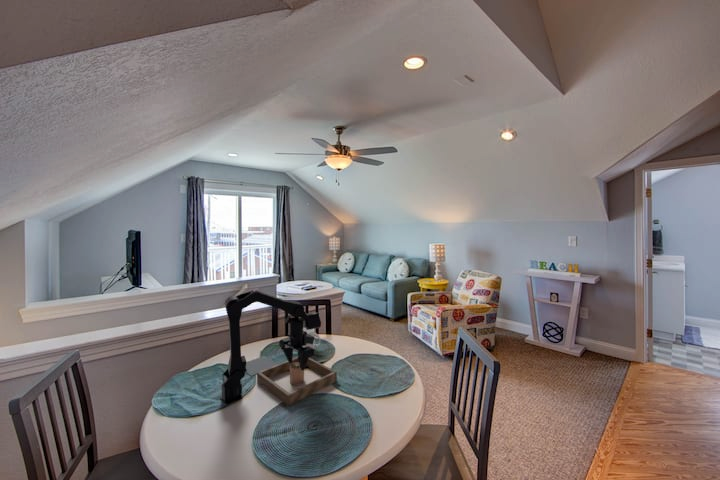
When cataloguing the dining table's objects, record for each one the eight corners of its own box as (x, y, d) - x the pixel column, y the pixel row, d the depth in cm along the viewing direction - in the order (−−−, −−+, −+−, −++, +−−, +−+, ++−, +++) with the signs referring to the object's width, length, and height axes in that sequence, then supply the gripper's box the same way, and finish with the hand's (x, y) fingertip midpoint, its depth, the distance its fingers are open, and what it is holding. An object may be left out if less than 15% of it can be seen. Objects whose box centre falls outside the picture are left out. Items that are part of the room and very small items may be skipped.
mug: (318, 353, 157) (318, 333, 156) (296, 352, 158) (296, 332, 157) (322, 347, 165) (322, 327, 165) (301, 345, 167) (301, 326, 166)
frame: (288, 405, 113) (288, 395, 112) (257, 381, 130) (256, 372, 129) (336, 381, 130) (336, 372, 130) (303, 362, 147) (303, 354, 147)
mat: (251, 376, 134) (251, 375, 134) (237, 365, 143) (237, 365, 143) (279, 365, 144) (279, 364, 144) (264, 356, 153) (264, 355, 153)
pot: (295, 386, 126) (294, 370, 125) (287, 381, 130) (287, 365, 129) (306, 381, 130) (306, 365, 130) (298, 376, 134) (298, 360, 134)
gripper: (324, 332, 128) (324, 367, 129) (299, 321, 141) (299, 354, 142) (303, 339, 120) (303, 377, 121) (278, 327, 133) (278, 361, 134)
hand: (296, 366), depth 129 cm, fingers open, 9 cm apart
